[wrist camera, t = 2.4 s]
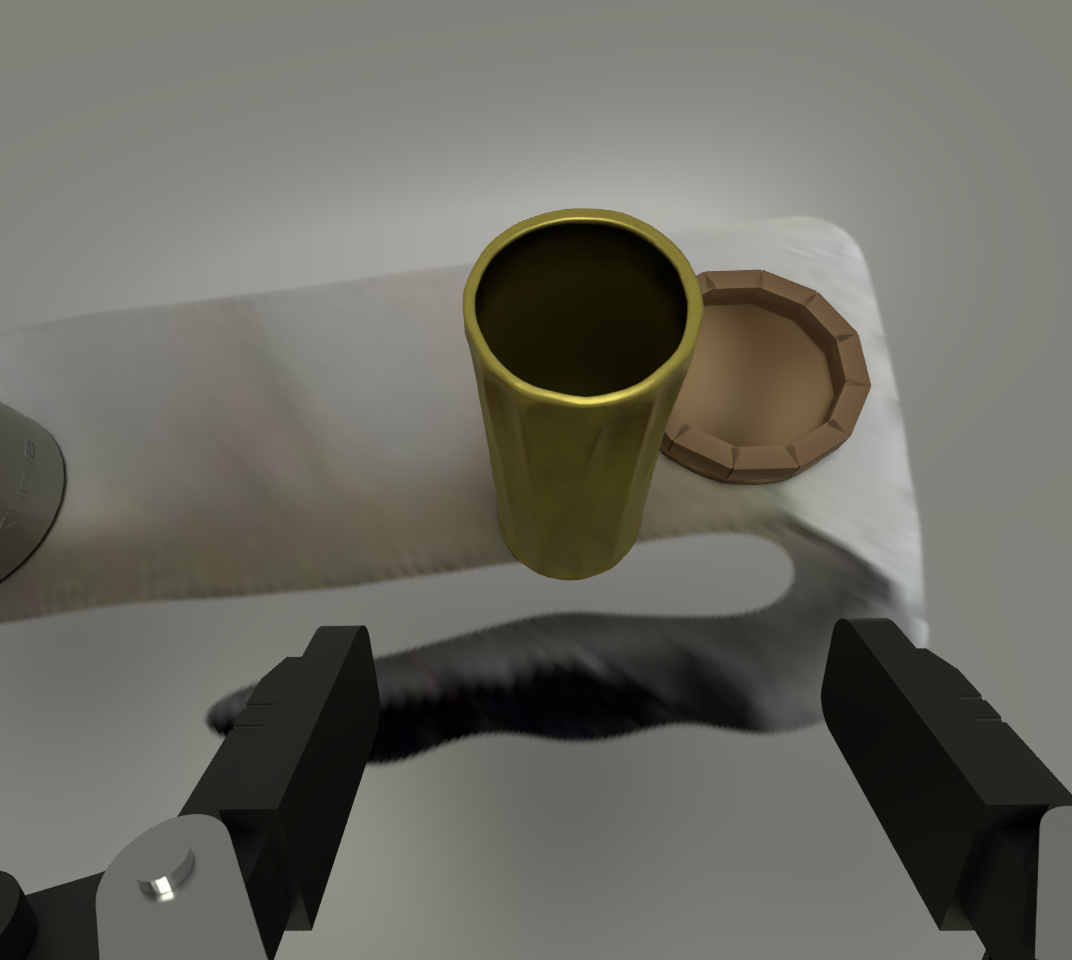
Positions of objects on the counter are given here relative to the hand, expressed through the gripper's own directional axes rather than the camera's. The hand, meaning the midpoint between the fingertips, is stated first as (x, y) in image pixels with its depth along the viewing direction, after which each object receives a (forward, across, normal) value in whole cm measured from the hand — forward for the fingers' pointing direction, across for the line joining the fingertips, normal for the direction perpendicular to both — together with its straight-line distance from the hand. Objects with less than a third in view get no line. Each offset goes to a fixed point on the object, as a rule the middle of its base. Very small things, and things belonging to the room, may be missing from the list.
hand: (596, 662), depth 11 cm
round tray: (+19, -8, 0) cm, 21 cm away
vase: (+15, 0, +5) cm, 16 cm away
